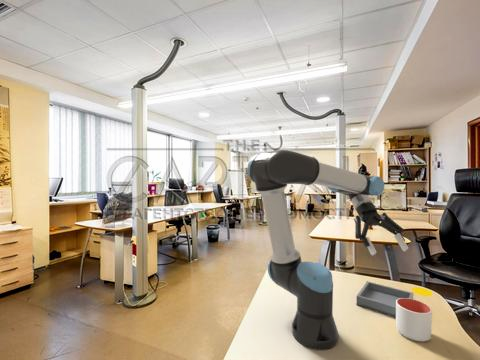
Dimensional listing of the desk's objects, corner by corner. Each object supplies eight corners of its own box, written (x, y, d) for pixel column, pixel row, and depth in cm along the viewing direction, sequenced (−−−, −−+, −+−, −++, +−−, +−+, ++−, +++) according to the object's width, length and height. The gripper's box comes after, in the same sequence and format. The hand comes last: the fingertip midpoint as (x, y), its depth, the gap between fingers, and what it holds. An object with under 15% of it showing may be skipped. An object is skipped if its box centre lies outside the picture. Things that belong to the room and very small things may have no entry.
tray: (356, 305, 103) (356, 295, 103) (367, 289, 116) (367, 281, 116) (408, 321, 91) (408, 311, 91) (413, 302, 105) (413, 292, 105)
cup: (429, 330, 86) (429, 302, 86) (433, 347, 78) (433, 316, 77) (395, 321, 91) (396, 295, 91) (395, 336, 83) (396, 307, 83)
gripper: (385, 208, 112) (413, 252, 98) (334, 213, 108) (356, 259, 95) (394, 198, 106) (425, 243, 93) (340, 203, 102) (364, 251, 89)
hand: (390, 252), depth 94 cm, fingers open, 13 cm apart
